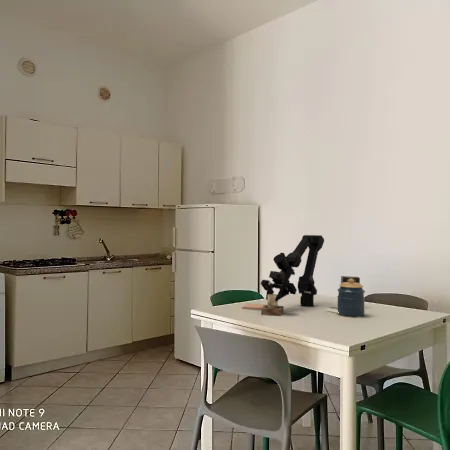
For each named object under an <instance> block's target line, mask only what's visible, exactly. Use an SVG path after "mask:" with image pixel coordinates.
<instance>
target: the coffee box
mask: <svg viewBox="0 0 450 450" xmlns="http://www.w3.org/2000/svg"><path fill="white" fill-rule="evenodd" d="M349 279H353V280H354V283H360V282H361V281H360V280H361V278H360V277H358V276H347V275H346V276H344V275H341V276H340V284H342V283H343V282H349ZM360 284H361V283H360Z"/></svg>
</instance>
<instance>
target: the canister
mask: <svg viewBox="0 0 450 450" xmlns="http://www.w3.org/2000/svg"><path fill="white" fill-rule="evenodd" d="M363 288H364V285H362V284H361V283H354V280H353V279H349V282H343V283H342V284H341V283H340V284H339V288H338V289H337V291H338V295H337V296H336V297H337V308H336V309H337V310H338V312H339V314H340V316H342V315H344V316H343V317H348V316H353V317H352V318H355V317H356V318H358V317H357V316H361V317H364V316H365V313H366V312H365V299H366V298H365V293H366V290H364V289H363ZM337 310H336V311H337ZM338 312H337V313H338ZM339 314H338V315H339ZM363 315H364V316H363Z"/></svg>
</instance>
